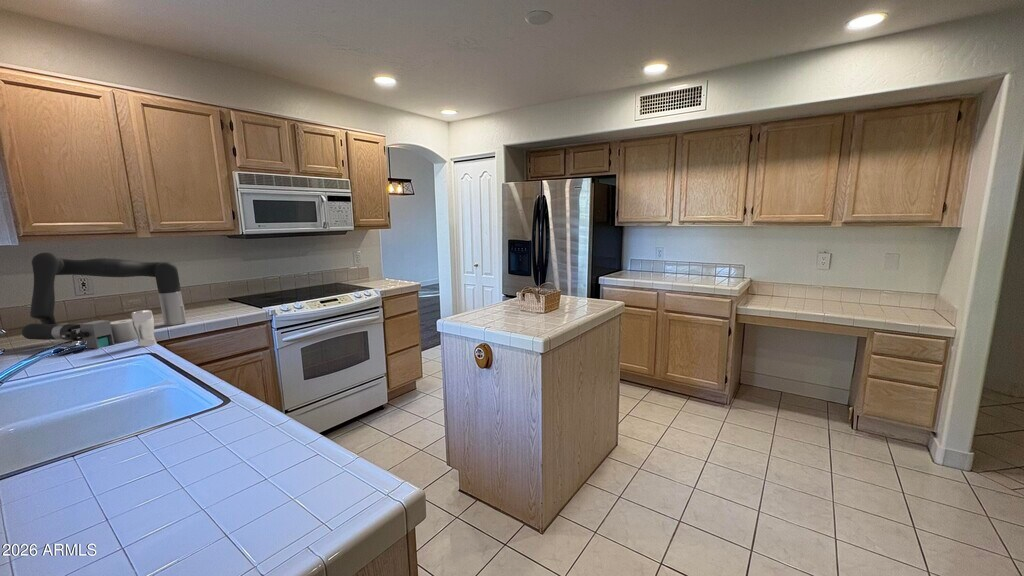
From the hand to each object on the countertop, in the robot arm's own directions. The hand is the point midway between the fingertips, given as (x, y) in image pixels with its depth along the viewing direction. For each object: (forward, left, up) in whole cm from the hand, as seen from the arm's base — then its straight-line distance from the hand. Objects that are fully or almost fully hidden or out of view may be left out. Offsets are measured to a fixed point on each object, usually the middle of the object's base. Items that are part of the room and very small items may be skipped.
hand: (99, 332), depth 179 cm
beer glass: (-16, +11, -7) cm, 20 cm away
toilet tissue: (-5, -10, -7) cm, 13 cm away
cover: (+1, -1, -7) cm, 7 cm away
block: (+1, -1, -7) cm, 7 cm away
